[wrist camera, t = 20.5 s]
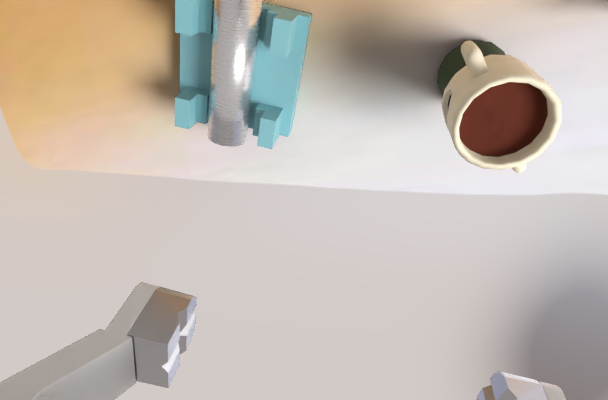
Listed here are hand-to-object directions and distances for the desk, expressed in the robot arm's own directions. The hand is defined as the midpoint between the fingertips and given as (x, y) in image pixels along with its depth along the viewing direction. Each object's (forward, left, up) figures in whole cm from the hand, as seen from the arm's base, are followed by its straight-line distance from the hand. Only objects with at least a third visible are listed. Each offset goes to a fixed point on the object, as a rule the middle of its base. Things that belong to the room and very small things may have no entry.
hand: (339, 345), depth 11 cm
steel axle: (+4, -12, -30) cm, 33 cm away
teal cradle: (+4, -12, -34) cm, 36 cm away
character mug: (0, +10, -34) cm, 36 cm away
